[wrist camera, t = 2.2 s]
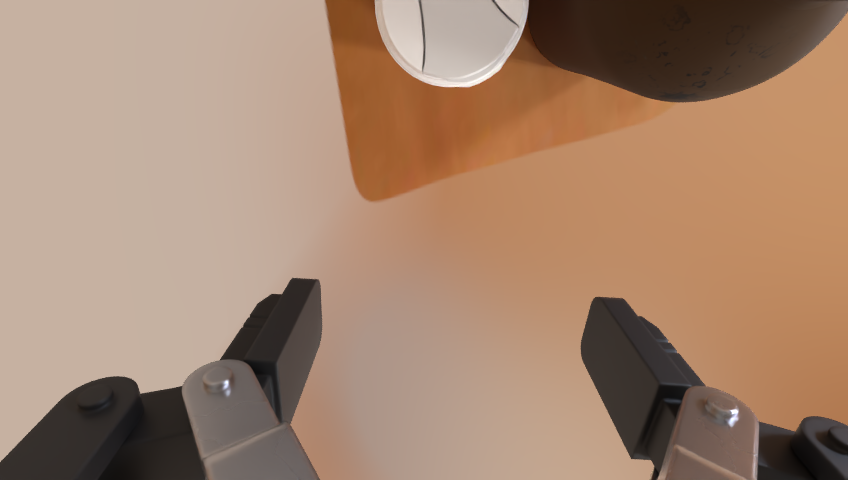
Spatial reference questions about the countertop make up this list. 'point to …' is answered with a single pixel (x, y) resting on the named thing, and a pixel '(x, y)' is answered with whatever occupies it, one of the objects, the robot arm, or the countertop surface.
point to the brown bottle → (681, 41)
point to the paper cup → (451, 37)
